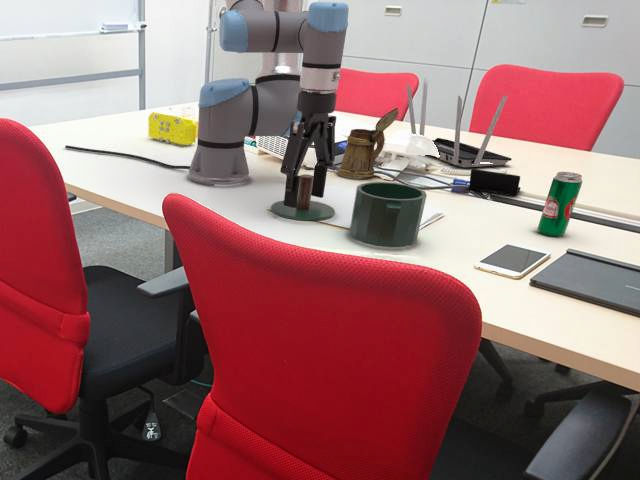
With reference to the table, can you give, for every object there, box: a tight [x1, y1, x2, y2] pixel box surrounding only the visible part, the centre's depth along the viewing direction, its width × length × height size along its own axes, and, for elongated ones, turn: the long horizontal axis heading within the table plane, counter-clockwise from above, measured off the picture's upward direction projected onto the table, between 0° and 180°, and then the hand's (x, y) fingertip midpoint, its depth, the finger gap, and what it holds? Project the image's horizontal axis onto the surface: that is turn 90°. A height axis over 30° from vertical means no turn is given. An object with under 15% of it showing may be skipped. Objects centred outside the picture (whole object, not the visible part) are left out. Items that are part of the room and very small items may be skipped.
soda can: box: [536, 171, 583, 238], centre depth 130 cm, size 5×5×12 cm
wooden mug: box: [337, 107, 399, 180], centre depth 166 cm, size 9×14×18 cm, turn 36°
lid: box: [270, 173, 336, 222], centre depth 140 cm, size 14×14×8 cm
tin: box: [348, 181, 428, 248], centre depth 126 cm, size 13×18×10 cm
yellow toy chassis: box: [147, 111, 197, 147], centre depth 202 cm, size 16×6×8 cm, turn 44°
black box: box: [468, 168, 521, 197], centre depth 159 cm, size 12×7×10 cm
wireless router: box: [406, 77, 513, 168], centre depth 185 cm, size 34×23×20 cm
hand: (303, 201), depth 140 cm, fingers open, 10 cm apart
